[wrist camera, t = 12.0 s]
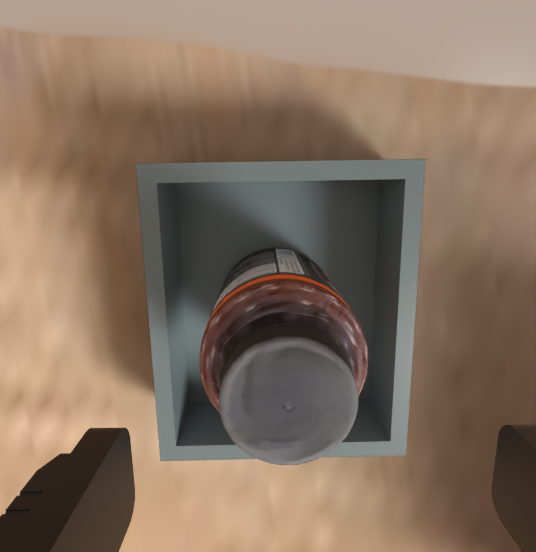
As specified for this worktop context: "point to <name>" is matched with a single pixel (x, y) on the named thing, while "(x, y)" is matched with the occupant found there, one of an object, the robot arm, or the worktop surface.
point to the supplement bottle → (283, 358)
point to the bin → (293, 235)
